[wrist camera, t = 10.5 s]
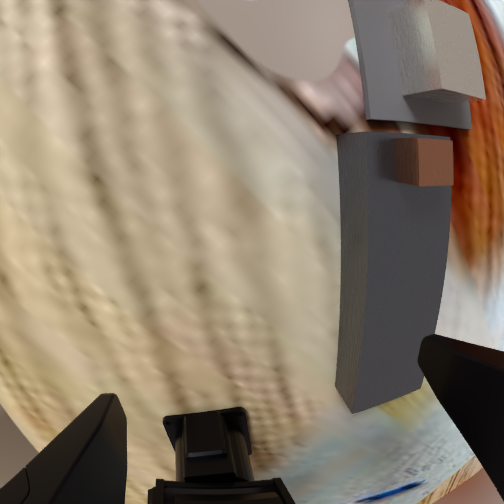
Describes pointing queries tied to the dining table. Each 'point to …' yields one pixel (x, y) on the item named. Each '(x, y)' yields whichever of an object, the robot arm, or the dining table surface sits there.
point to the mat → (393, 73)
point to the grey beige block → (436, 52)
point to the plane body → (390, 259)
